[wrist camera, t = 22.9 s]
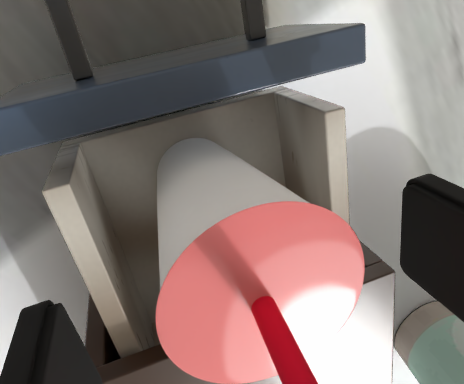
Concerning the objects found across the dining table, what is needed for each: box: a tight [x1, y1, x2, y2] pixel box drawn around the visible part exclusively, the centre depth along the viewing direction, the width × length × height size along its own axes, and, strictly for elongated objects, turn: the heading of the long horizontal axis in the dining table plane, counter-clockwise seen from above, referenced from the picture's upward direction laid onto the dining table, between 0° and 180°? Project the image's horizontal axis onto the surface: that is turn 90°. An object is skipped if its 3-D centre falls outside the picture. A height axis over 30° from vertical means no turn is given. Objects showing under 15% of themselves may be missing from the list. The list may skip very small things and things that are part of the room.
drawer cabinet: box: [85, 241, 395, 384], centre depth 20 cm, size 15×13×8 cm
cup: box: [155, 138, 365, 384], centre depth 11 cm, size 5×5×12 cm
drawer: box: [0, 0, 366, 358], centre depth 15 cm, size 18×11×6 cm, turn 11°
